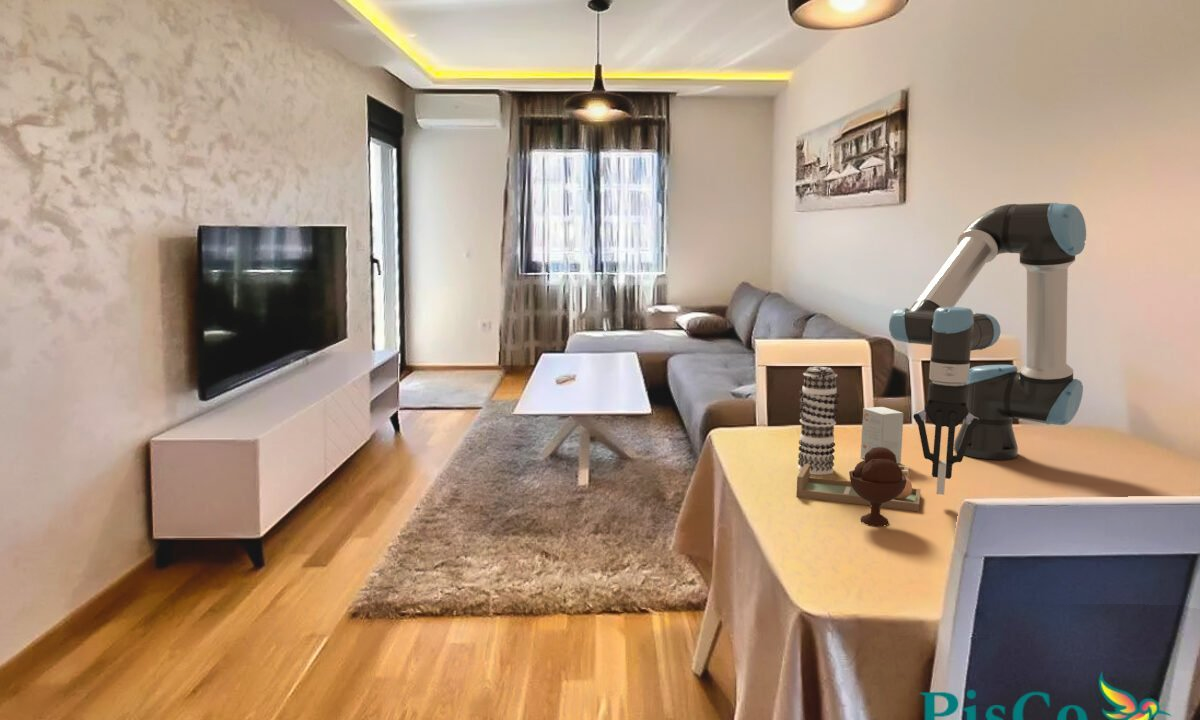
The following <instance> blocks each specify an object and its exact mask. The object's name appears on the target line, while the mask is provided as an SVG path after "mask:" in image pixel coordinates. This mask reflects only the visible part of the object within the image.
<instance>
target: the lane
mask: <svg viewBox="0 0 1200 720" xmlns="http://www.w3.org/2000/svg"><path fill="white" fill-rule="evenodd" d="M796 479H797V480H796V494H795V495H796V497H798V498H799V497H800V498H806V499H814V500H823V501H831V502H839V503H846V504H853V505H854V504H855V505H856V504H857V505H862V506H863V505H865V506H870V507H871V503H870V502H869V501H867V500H865V499H863V498H862V497H860V496H859V495H858V494H857V493H856V492H855V491H854V490H853V487H852V485H851V481H850V480H839V479H832V478H823V477H815V476H810V464H804V466H803V468H802V469H801V471H799V473H798V474H797V478H796ZM920 498H921V489H920V488H914V487H912V492H911V494H910V495H909V496H908V497H907V498H904V499H896V498H894V499H892V500H890V501H888V502H885V503H882V504H881V506H880V508H881V507H882V508H887V509H889V508H890V509H896V510H904V511H911V512H912V511H913V512H920V500H921V499H920Z"/></svg>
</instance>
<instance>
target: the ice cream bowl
mask: <svg viewBox="0 0 1200 720" xmlns="http://www.w3.org/2000/svg"><path fill="white" fill-rule="evenodd" d="M896 462H897V460H896V456H895V454H894V453H893V452H892V451H891V450H889V449H887V448H885V447H876V448H872V449H871V450H870V451H869V452H867V453H866V454H865V459H864V460H861V461H860V462H858V463H856V465H855V467H854V470H850V471H848V472H849V473H848V474H849V481H851V485H852V487H853V490H854V491H855V492H856V493H857V494H858V495H859V496H860V497H862V498H863V499H865V500H867V501H869V502H870V503H871V506H870V512H869V513H866V514H865V515H862V516H861V517H860V523H862V522H864V523H865V525H866V524H868V525H867V526H871V525H873V526H872V527H885V526H884V525H886V526H888V525H887V524H889V525H890V522H889V519H888V518H887V517H886V516H884V515H883V514H881V512H880V511H881V507H880V506H881V504H882V503H885V502H888V501H890V500H892V499H894V498H896V497H897V496H898V495H900V494H901V493H902V491H903V490H904V488H905V485H906V482H907V480H906V478H905V476H904V475H902V470H901V468H899V465H900V464H899V463H896ZM864 523H863V524H864Z"/></svg>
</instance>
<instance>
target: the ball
mask: <svg viewBox="0 0 1200 720" xmlns="http://www.w3.org/2000/svg"><path fill="white" fill-rule="evenodd" d="M905 478H906V477H905ZM906 480H907V482H906V485H905V488H904V490H903V491H902V493H901V494H900V495H898V496H897V497H896V499H904V498H907V497H908V496H909V495H910V494H911V492H912V488H913V486H912V484H913V483H912V482H911V480H910V479H909V478H908V479H907V478H906Z"/></svg>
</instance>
